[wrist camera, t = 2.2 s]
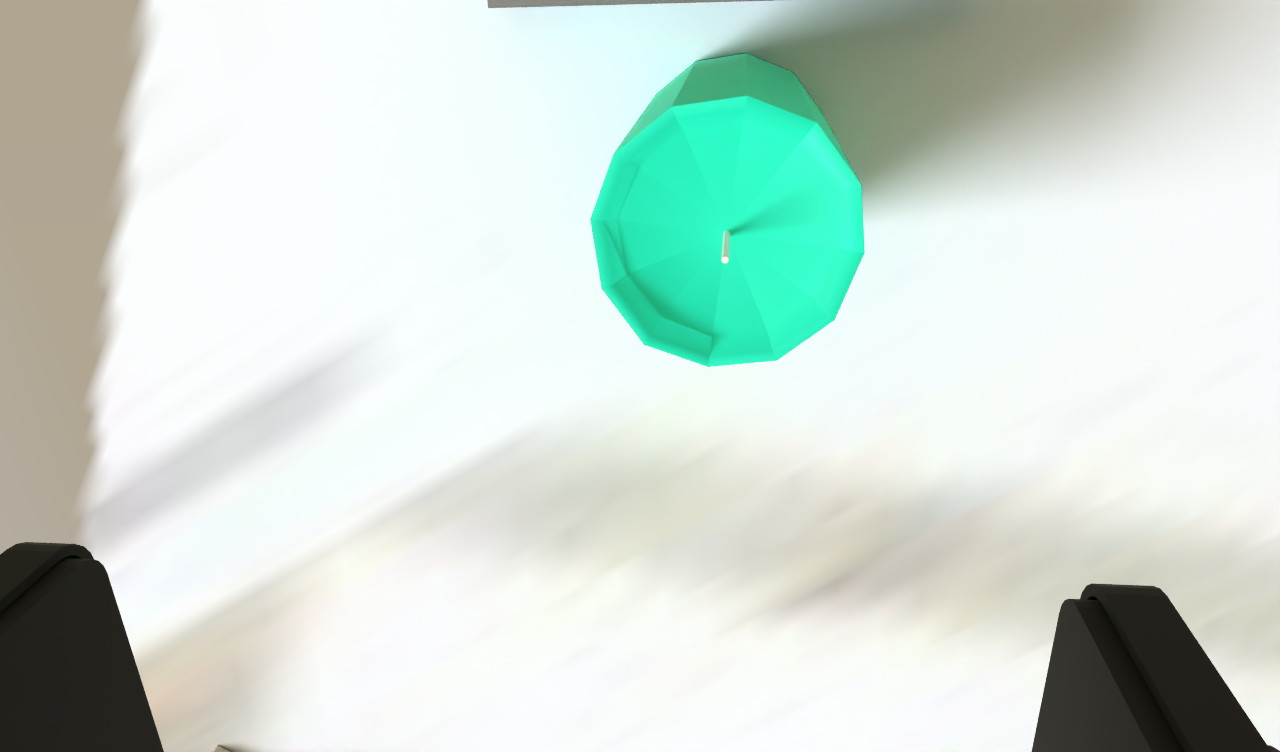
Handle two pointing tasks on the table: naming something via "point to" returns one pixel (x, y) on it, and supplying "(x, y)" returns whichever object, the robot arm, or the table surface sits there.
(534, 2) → the desk organizer
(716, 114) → the candle
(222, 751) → the hinge
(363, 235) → the table surface
